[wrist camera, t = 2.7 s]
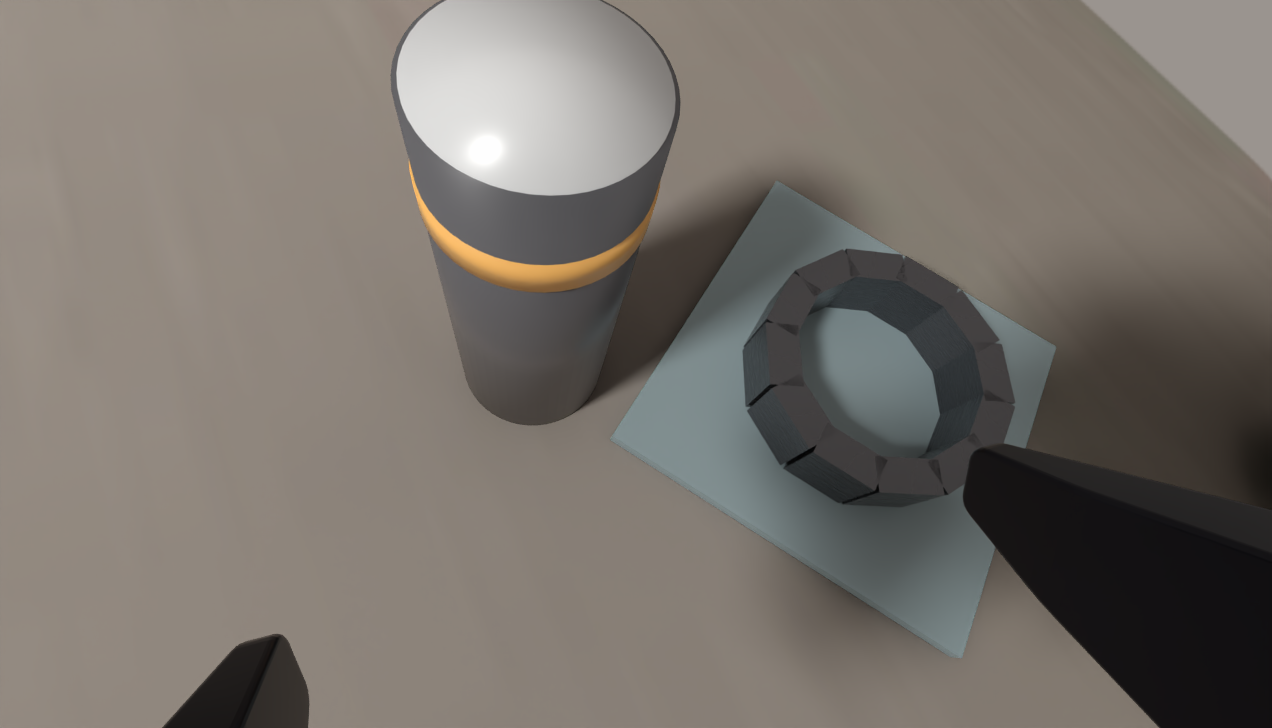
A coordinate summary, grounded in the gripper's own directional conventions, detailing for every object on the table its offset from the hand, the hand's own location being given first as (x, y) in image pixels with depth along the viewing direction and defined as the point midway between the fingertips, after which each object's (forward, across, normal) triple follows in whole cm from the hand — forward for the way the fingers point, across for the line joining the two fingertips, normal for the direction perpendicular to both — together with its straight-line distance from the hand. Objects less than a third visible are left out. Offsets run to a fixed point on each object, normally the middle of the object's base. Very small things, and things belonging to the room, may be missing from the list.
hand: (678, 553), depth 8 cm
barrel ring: (+12, -12, +6) cm, 18 cm away
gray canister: (+15, 0, +4) cm, 16 cm away
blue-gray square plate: (+13, -12, +6) cm, 18 cm away
